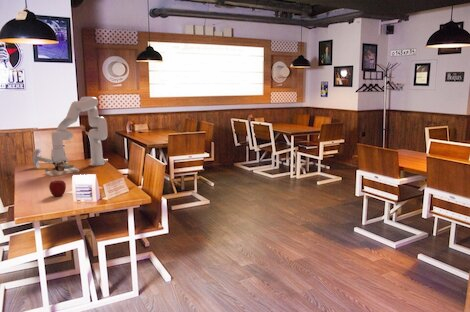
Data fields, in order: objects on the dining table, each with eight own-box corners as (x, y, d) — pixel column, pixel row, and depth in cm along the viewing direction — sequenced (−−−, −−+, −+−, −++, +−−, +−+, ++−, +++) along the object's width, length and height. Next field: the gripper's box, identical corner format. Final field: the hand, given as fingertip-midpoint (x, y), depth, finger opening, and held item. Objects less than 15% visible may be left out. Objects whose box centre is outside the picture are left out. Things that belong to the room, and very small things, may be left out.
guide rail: (73, 167, 321) (72, 164, 321) (73, 167, 320) (73, 165, 320) (45, 171, 306) (45, 169, 305) (46, 171, 305) (45, 169, 305)
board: (73, 169, 322) (72, 167, 321) (79, 171, 314) (79, 169, 313) (45, 173, 306) (45, 171, 306) (51, 176, 298) (51, 173, 298)
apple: (64, 192, 249) (62, 177, 248) (68, 195, 242) (67, 180, 240) (48, 195, 243) (46, 180, 242) (52, 198, 236) (51, 182, 234)
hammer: (70, 156, 331) (36, 148, 332) (67, 157, 326) (33, 149, 327) (67, 173, 334) (34, 165, 335) (64, 174, 329) (31, 166, 330)
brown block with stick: (61, 169, 312) (60, 162, 311) (66, 171, 305) (65, 163, 304) (56, 170, 310) (55, 162, 309) (61, 172, 302) (60, 164, 301)
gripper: (66, 145, 314) (68, 167, 318) (45, 147, 303) (47, 170, 306) (70, 146, 309) (72, 168, 313) (48, 148, 298) (51, 172, 301)
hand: (59, 169), depth 309 cm, fingers closed on brown block with stick, 4 cm apart
